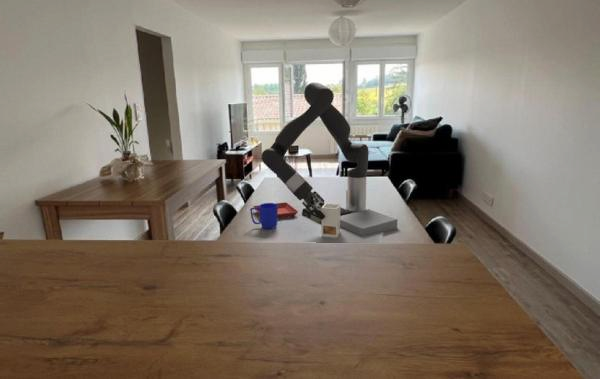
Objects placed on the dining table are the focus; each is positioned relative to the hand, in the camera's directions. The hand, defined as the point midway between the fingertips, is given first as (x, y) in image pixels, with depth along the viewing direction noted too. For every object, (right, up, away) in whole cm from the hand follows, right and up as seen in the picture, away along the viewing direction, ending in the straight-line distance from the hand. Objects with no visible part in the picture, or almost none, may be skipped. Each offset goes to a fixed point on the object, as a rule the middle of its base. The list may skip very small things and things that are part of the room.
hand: (326, 215), depth 152 cm
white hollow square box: (+2, -9, +2) cm, 9 cm away
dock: (+18, -6, +11) cm, 22 cm away
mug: (-26, -7, +14) cm, 30 cm away
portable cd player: (+2, -3, +26) cm, 26 cm away
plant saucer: (-23, -2, +32) cm, 40 cm away
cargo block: (+2, -8, +1) cm, 8 cm away
